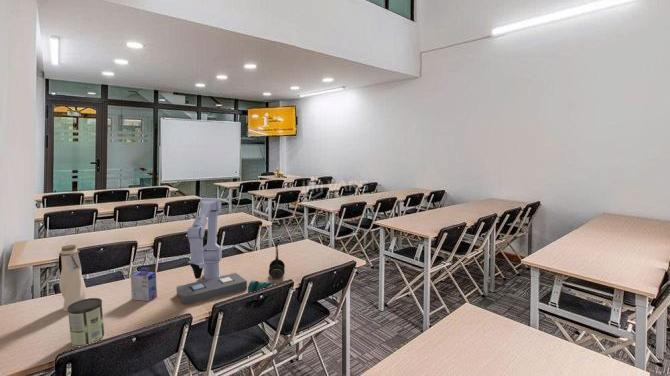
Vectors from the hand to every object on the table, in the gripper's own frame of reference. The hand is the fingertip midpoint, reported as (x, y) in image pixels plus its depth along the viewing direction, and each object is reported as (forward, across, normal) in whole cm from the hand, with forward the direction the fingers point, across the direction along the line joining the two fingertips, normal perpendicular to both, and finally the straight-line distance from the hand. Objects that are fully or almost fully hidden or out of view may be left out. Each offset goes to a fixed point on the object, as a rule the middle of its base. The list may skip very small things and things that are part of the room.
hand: (197, 278), depth 164 cm
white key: (+7, 0, +14) cm, 15 cm away
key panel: (+8, 0, +7) cm, 11 cm away
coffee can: (+8, +14, -44) cm, 47 cm away
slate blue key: (+7, 0, 0) cm, 7 cm away
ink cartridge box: (+9, -12, -21) cm, 26 cm away
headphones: (+9, +2, +42) cm, 43 cm away
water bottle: (+9, -20, -47) cm, 52 cm away
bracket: (+9, +16, +27) cm, 33 cm away
